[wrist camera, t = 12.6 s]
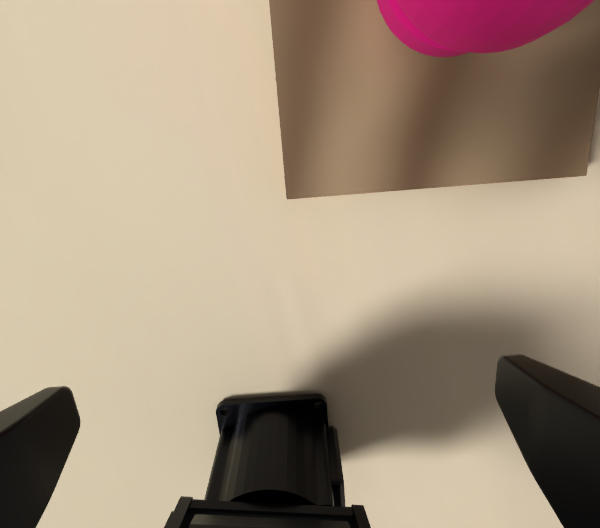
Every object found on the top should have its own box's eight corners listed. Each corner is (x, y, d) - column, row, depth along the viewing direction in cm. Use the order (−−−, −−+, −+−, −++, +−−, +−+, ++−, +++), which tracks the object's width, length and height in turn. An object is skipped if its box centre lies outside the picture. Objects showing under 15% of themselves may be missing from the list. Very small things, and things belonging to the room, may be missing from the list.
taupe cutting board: (287, 195, 20) (286, 199, 19) (255, -166, 16) (252, -189, 14) (569, 172, 20) (586, 175, 19) (620, -200, 15) (646, -226, 14)
